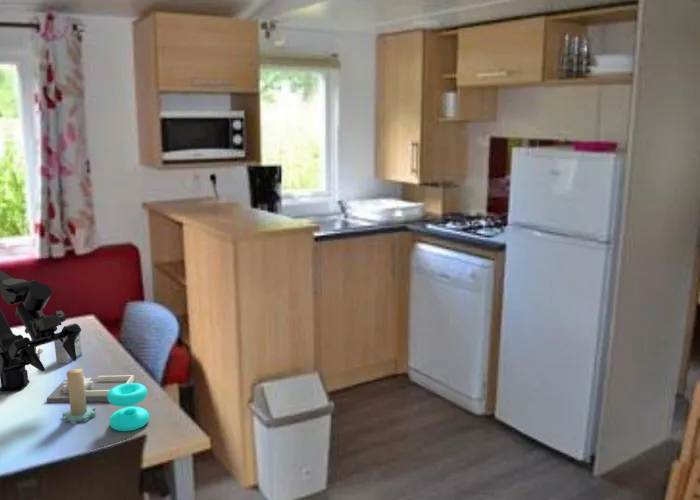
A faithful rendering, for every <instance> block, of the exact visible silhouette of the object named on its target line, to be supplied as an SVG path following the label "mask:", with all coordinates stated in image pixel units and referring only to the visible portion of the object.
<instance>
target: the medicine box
mask: <svg viewBox="0 0 700 500" xmlns="http://www.w3.org/2000/svg"><path fill="white" fill-rule="evenodd" d="M53 342H54V351H55V360H56V363H57V364H67V365H69V364H70V363H72V362H74V361H73V360H72V359H71V357H70V356H69V354H68V353H67V352H66V350H65V349H64V347H63V346H62V345H63V344H64V343H63V342H61V341H60V340H57V341H53ZM75 351H76V358H77V359H78V358H81V356H82V355H83V352H82V351H83V350H82V341H81V332H80V333H79V335H78V337H77V338H76V340H75Z"/></svg>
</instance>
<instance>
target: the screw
mask: <svg viewBox="0 0 700 500" xmlns="http://www.w3.org/2000/svg"><path fill="white" fill-rule="evenodd" d="M31 340H32V338H31V337H30V341H31ZM34 349H35V353H36V354H37V356H38V358H39V359H40V356H41V354H43V352H44V350H43V349H41V348H39V346H36V347H34Z"/></svg>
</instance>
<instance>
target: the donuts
mask: <svg viewBox="0 0 700 500" xmlns="http://www.w3.org/2000/svg"><path fill="white" fill-rule="evenodd" d="M147 395H148V388H147V387H146V386H145V385H143V384H142V383H137V382H135V383H125V384H121V385H118V386H115V387H113V388H112V389H111V390H110V391H109V392H108V394H107V399H108V401H107V402H109V403H110V405H113V406H115V407H122V408H120V409H118V410H116V411H115V412H113V413H112V414H111V416H110V417H109V426H110V427H111V428H112V429H113V430H116V431H119V432H130V431H131V432H132V431H135V430H138V429H140V428H142V427H144V426H145V425H146V424H148V422H149V421H150V413H149V411H147V409H146V408H143V407H140V406H135V405H138V404H140V403H141V402H143V401H144V400H145V399H146V397H147Z"/></svg>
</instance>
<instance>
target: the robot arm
mask: <svg viewBox="0 0 700 500" xmlns="http://www.w3.org/2000/svg"><path fill="white" fill-rule="evenodd" d="M0 292H1V299H2V300H3V301H4V302H6V303H7V304H8V305H9V306H12V305H15V304H18V305H17V307H16V308H15V315H14V316H15V317H16V318H19V319H20V321H21V322H22V324H23V326H24V328H25V329H24V333H25V334H28V335H29V337H30V338H29V337H27V336H26V337H24V336H23V335H22V334H18V335H16V334H14V332H13V331H12V329H11V327H10V326H9V323H8V321H7V319H6V317H5V315H4V314H3V312H2V309H0V392H1V391H5V392H6V391H7V392H8V391H9V392H10V391H21V390H23V389H24V388H25V387H26V386H27V385H29V383H30V382H31V381H30V379H29V377H28V376H29V375H28V374H29V373H28V370H27V369H26V366H29V365H30V366H32V367H34V368H36V369H37V370H38V371H40V372H42V373H43V372H45V370H46V369H45V365H44V364H43V362H42V361H41V359H40V358H38V356H37V354H36V353H35V349H34V347H36V346H37V347H41V346H42V345H46V344H49V343H53V342H54V341H57V340H60V341H61V342H63V343H64V344H63V345H62V346H63V347H64V349H65V350H66V352H67V353H68V354H69V356H70V357H71V359H72V360H73V361H72V362H76V361H77V359H78V358H76V351H75V340H76V338H77V337H78V335H79V333H80V334H81V332H82V328H81V326H80V325H79V324H78V323H72V324H68V325H65V326H63V327H62V330H61V331H60V332H57V331H58V327H59V326H62V323H63V322H65V321H66V319H67V318H66V315H65V313H64V312H63V311H62V310H57V311H55V312H53V315H48V314H47V315H45V314H44V313H43V309H45V307H46V305H47V303H48V301H50V298H51V296H52V289H51V287H50V286H48V285H47V284H45V283H43V282H42V283H41V282H40V281H39V280H38V279H35V280H30V281H28V280H26V279H23V278H14V277H12V276H10V275H9V274H7V273H5V272H4V271H3V270H0ZM55 332H57V333H55ZM31 338H32V340H31Z"/></svg>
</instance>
